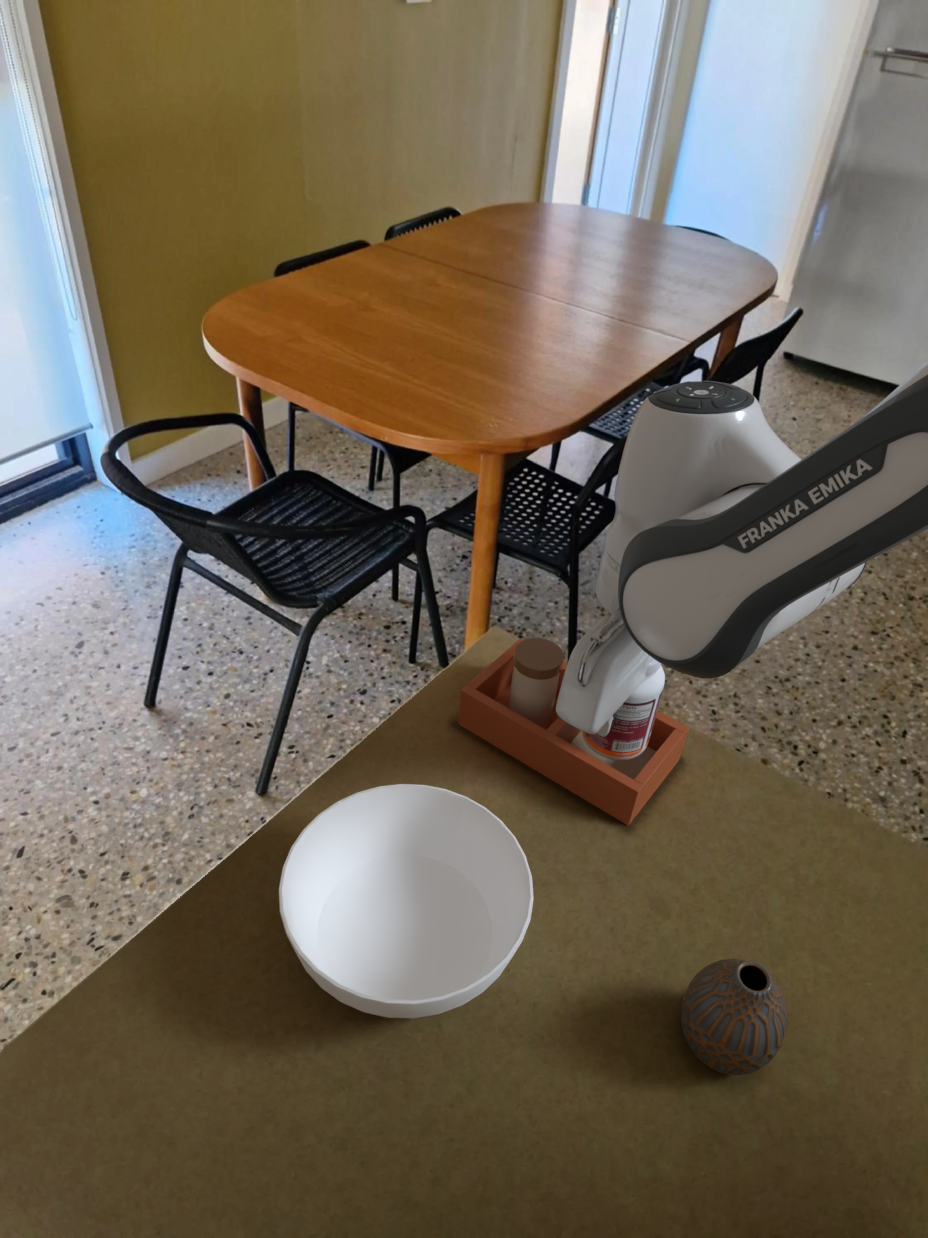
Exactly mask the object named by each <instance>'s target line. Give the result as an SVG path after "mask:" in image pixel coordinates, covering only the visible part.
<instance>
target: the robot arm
mask: <svg viewBox="0 0 928 1238" xmlns="http://www.w3.org/2000/svg"><path fill="white" fill-rule="evenodd" d="M614 503H615V512H614V517H613V519H612V521H611V523H610V524H609V526H608V528H607V530H606V532H605V536H604V542H603V545H602V550H601V555H600V561H599V566H598V570H597V575H596V581H595V586H594V589H595V595H596V599H597V600H598V602H599V603H600V605H601V606H602V608H603V609H604V610H605V611H606V612H607V613H605V615H603V616H602V617H601V618H600V619H599V620H598V621H597V622H596V623H595V624H593V626H592V627H591V628H590V629H588V631H586V633H585V634H584V635H582V636H581V638H580V639H579V640H578V641H577V643H575V646H574V647H573V649H572V651H571V654H570V655H569V659H568V662H567V663H568V664H567V667H566V670H565V673H564V677H563V680H562V684H561V688H560V692H559V696H558V700H557V704H556V712H557V714H558V716H559V717H560V718H561V719H563V720H564V721H566V722H567V723H569V724H570V725H572V726H574V727H576V728H577V729H580V730H582V731H584V732H586V733H588V734H595V733H597V734H599V735H600V736H603V737H605V736H606V735H607V734H608V733H609V732H610V731H611V730H612V729H613V727H614V726H615V721H616V719H617V714H615V712H616V711H617V710H618V709H619V707H620V706H621V705H622V704H623V703H624V702H625V701H626V700H627V699H628V698H629V697H630V695H631V694H632V693H633V692H634V691H635V690H636V689H637V688H638V687H639V686H640V684H641V683H642V682H643V681H644V680H645V678H646V676H645V674H646V671H647V667H648V665H649V664H650V663H651V662H652V661H653V659H655V660H656V661H658V662H659V663H661V666H662V665H663V666H665V667H667V668H669V669H671V670H673V671H675V672H678V673H681V674H684V675H687V676H691V677H693V678H697V679H708V680H709V679H716V678H720V677H723V676H725V675H727V674H728V673H730V672H731V671H733V670H734V669H735V668H736V667H738V666H739V665H741V664H742V663H743V662H744V661H746V660H747V659H749V658H750V656H752V655H753V654H754V653H755V652H756V650H758V649H759V648H761V647H762V646H763V645H765V644H767V643H768V642H770V641H771V640H773V639H774V638H776V637H777V636H779V635H781V634H782V633H783V632H785V631H786V630H788V629H789V628H791V627H792V626H794V625H795V624H797V623H798V622H799V621H801V620H803V619H805V618H806V617H807V616H809V615H810V614H812V613H813V612H815V611H817V610H818V609H819V608H821V607H822V606H824V605H826V604H827V603H828V602H830V601H831V600H833V599H834V598H836V597H837V596H839V594H842V593H843V592H844V591H845V590H847V589H848V588H850V587H851V586H852V585H853V584H855V583H856V582H857V581H858V579H859V578H861V575H862V573H863V572H864V570H865V568H866V565H867V563H868V562H869V561H871V560H873V559H875V558H877V557H878V556H880V555H882V554H884V553H885V552H888V551H889V550H891V549H893V548H895V547H897V546H899V545H901V544H902V543H904V542H906V541H909V540H910V539H912V538H914V537H916V536H918V535H921V534H922V533H924V532H927V531H928V359H927V360H925V362H923V364H921V365H920V366H919V367H918V368H917V369H916V370H915V371H913V373H912V374H910V375H909V376H908V377H906V379H905V380H904V381H903V382H901V383H900V384H899V385H898V386H897V387H896V388H895V389H894V390H893V391H892V392H890V393H889V394H888V395H887V396H886V397H885V398H884V399H882V400H881V401H880V402H879V403H878V404H876V406H874V407H873V408H872V409H871V410H869V412H867V413H866V414H865V415H864V416H862V417H861V418H860V419H859V420H858V421H856V422H854V424H851V426H848V428H846V429H845V430H843V431H842V432H840V433H838V434H837V435H836V436H835V437H833V438H832V439H830V440H829V441H827V442H826V443H824V444H823V445H822V446H820V447H818V448H817V449H816V450H814V451H812V452H811V453H810V454H808V455H806V456H805V457H803V458H801V457H799V456H798V455H797V454H796V453H795V452H794V451H792V450H791V449H790V447H788V445H786V444H785V443H784V441H782V440H781V439H780V437H779V436H778V435H777V434H776V433H775V432H774V430H773V428H771V426H770V424H769V423H768V421H767V419H766V416H765V415H764V412H763V409H762V407H761V404H760V402H759V400H758V399H757V398H756V397H755V396H754V395H753V394H752V393H751V392H749V391H748V390H746V389H744V388H742V387H740V386H737V385H735V384H731V383H727V382H722V381H721V382H720V381H713V380H701V381H698V380H697V381H696V380H693V381H688V380H687V381H683V382H679V383H675V384H672V385H669V386H665V387H664V388H661V389H659V390H656V391H654V392H652V393H651V394H650V395H648V396H647V397H646V398H645V399H644V400H643V401H642V403H641V404H640V406H639V408H638V410H637V411H636V414H635V415H634V418H633V421H632V423H631V425H630V429H629V431H628V433H627V437H626V440H625V444H624V447H623V451H622V455H621V459H620V462H619V468H618V472H617V476H616V481H615V487H614Z"/></svg>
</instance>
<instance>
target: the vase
mask: <svg viewBox="0 0 928 1238" xmlns="http://www.w3.org/2000/svg"><path fill="white" fill-rule="evenodd" d="M680 1009H681V1010H680V1020H681V1027H682V1031H683V1035H684V1038H685V1040H686V1042H687V1044H688V1047H689V1048H690V1049H691V1051H692V1052H693V1054H694V1055H695V1056H696V1057H697V1059H699V1060H700V1061H701V1062H702V1063H703V1064H704V1065H706V1066H707V1067H709V1068H711V1069H712V1070H714V1071H716V1072H719V1073H722V1074H726V1075H729V1076H745V1075H748V1074H751V1073H755V1072H757V1071H759V1070H761V1069H762V1068H764V1067H765V1066H767V1065H769V1063H771V1062H772V1060H773V1059H774V1058H775V1057H776V1056H777V1055H778V1053H779V1051H780V1050H781V1047H782V1046H783V1044H784V1041H785V1039H786V1035H787V1030H788V1008H787V1004H786V1000H785V997H784V995H783V992H782V990H781V988H780V987H779V985H778V984H777V982H776V981H775V979H774V978H773V977H772V976H771V974H770V972H769V971H768V970H767V968H766V967H765V966H764V965H762V964H761V963H758V962H756V961H754V960H743V959H738V958H724V959H720V960H716V961H714V962H711V963H710V964H707V965H706V966H704V967H703V968H702V969H700V970H699V971H698V972H697V973H696V974H695V975H694V976H693V977H692V979H691V980H690V982H689V984H688V986H687V987H686V990H685V992H684V994H683V998H682V1002H681V1007H680Z"/></svg>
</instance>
